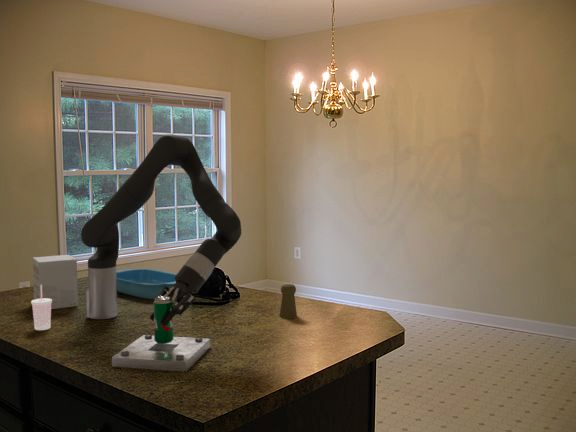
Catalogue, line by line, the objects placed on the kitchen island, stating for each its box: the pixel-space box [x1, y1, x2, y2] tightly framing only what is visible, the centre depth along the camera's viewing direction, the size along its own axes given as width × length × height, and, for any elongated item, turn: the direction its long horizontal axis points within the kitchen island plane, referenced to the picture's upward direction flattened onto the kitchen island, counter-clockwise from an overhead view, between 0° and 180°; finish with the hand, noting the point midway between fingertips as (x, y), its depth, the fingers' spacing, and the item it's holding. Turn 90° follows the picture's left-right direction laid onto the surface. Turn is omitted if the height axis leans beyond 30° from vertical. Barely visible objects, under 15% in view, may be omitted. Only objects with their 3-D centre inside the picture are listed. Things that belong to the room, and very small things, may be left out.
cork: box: [279, 283, 298, 319], centre depth 203 cm, size 6×6×11 cm
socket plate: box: [111, 334, 211, 372], centre depth 161 cm, size 20×20×3 cm
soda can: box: [152, 296, 174, 344], centre depth 160 cm, size 5×5×12 cm
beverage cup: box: [30, 285, 52, 331], centre depth 187 cm, size 6×6×14 cm
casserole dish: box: [116, 268, 177, 301], centre depth 240 cm, size 37×22×7 cm, turn 52°
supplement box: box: [32, 254, 79, 310], centre depth 218 cm, size 13×13×18 cm
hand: (157, 322), depth 159 cm, fingers closed on soda can, 5 cm apart
